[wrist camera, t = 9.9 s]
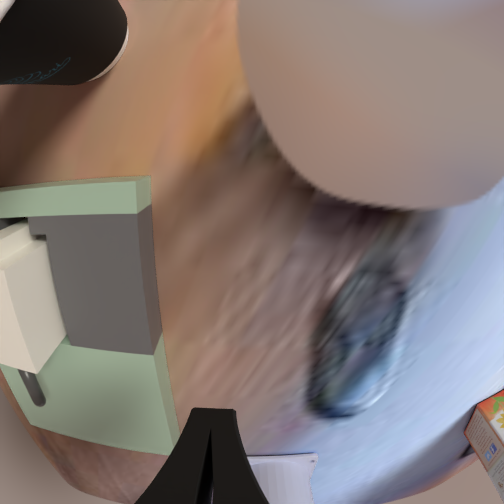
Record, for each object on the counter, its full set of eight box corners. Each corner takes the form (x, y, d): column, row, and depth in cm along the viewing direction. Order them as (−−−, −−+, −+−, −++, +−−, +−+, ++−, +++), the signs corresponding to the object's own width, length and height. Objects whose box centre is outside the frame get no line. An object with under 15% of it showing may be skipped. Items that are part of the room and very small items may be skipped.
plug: (91, 364, 20) (60, 422, 14) (49, 357, 20) (14, 407, 14) (61, 216, 16) (-1, 249, 10) (15, 217, 16) (-46, 247, 10)
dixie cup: (118, -32, 11) (33, -129, 1) (183, 46, 13) (102, -75, 3) (21, 51, 12) (-105, 25, 2) (70, 137, 15) (-88, 155, 4)
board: (179, 433, 22) (175, 456, 20) (40, 406, 22) (30, 424, 19) (150, 175, 16) (135, 181, 13) (-24, 191, 15) (-46, 198, 13)
